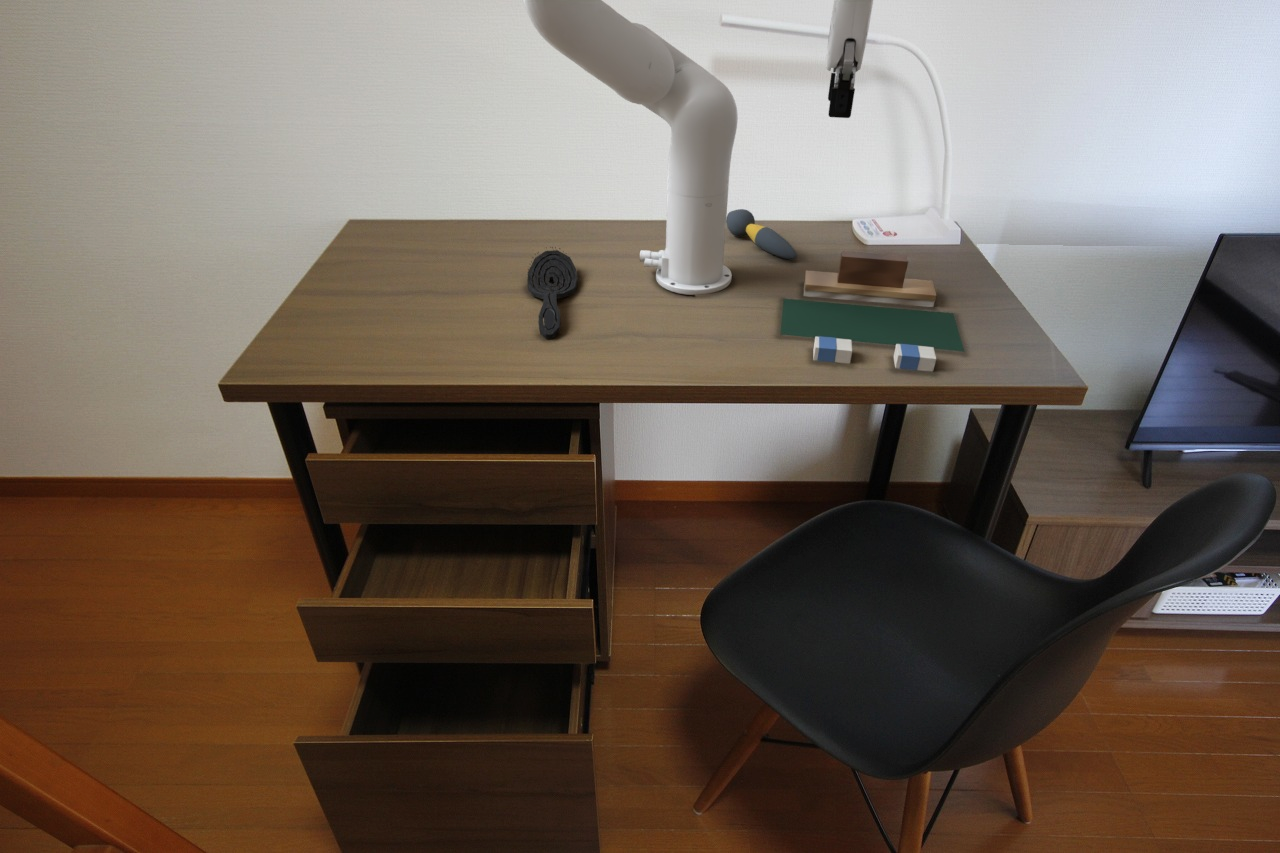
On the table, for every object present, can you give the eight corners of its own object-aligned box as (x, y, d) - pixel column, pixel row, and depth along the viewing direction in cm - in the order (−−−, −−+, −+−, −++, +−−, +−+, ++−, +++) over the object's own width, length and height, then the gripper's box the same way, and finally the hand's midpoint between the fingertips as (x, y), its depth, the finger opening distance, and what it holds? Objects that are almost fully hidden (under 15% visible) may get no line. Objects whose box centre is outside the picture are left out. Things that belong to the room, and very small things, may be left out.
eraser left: (812, 362, 109) (815, 347, 107) (813, 351, 111) (815, 335, 110) (849, 366, 108) (852, 350, 107) (848, 354, 111) (851, 339, 109)
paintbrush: (810, 258, 137) (813, 231, 134) (790, 266, 135) (793, 238, 132) (732, 225, 150) (734, 199, 147) (713, 231, 148) (714, 205, 145)
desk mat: (779, 337, 115) (779, 334, 114) (782, 300, 124) (783, 298, 124) (964, 354, 111) (964, 351, 111) (952, 315, 120) (953, 313, 120)
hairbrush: (519, 323, 112) (527, 245, 131) (521, 345, 114) (529, 265, 134) (577, 322, 112) (576, 244, 132) (578, 343, 115) (577, 264, 134)
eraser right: (894, 370, 107) (898, 355, 106) (892, 358, 110) (896, 343, 108) (932, 374, 106) (936, 358, 105) (929, 362, 109) (933, 346, 108)
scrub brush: (803, 298, 125) (809, 257, 121) (803, 284, 129) (809, 244, 125) (933, 309, 122) (943, 268, 118) (929, 294, 126) (939, 254, 122)
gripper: (829, -28, 116) (813, 94, 126) (830, -14, 102) (813, 122, 112) (881, -27, 115) (861, 96, 125) (889, -12, 101) (866, 125, 111)
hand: (838, 108), depth 118 cm, fingers open, 9 cm apart
